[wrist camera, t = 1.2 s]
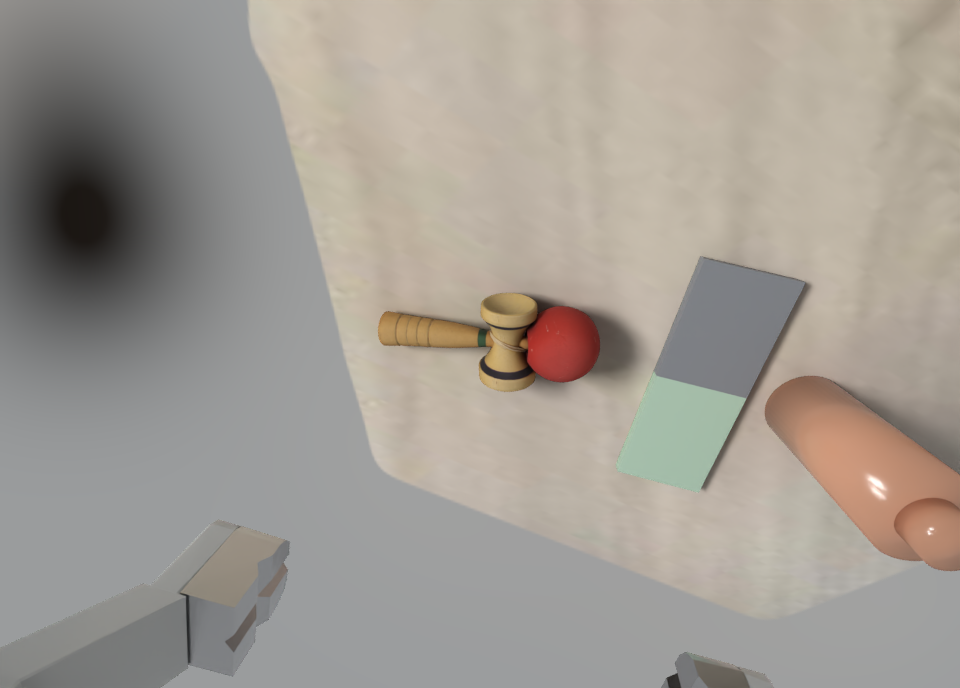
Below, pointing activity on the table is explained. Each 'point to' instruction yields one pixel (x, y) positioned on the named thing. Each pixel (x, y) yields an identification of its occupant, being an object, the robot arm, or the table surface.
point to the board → (706, 371)
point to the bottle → (871, 471)
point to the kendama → (508, 340)
